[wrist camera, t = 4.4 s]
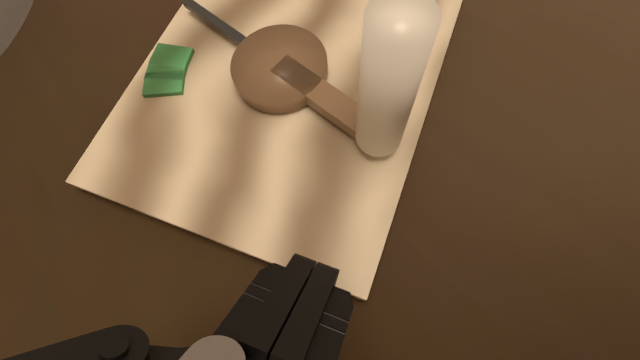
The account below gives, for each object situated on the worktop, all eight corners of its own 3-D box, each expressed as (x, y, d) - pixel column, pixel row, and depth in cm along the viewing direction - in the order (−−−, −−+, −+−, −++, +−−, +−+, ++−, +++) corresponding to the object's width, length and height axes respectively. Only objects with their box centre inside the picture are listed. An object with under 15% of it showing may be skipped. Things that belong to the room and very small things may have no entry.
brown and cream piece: (426, 117, 24) (485, -21, 14) (362, 192, 22) (377, 95, 12) (220, -17, 30) (158, -182, 20) (157, 34, 28) (55, -118, 18)
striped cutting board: (461, 0, 30) (469, -20, 28) (365, 301, 22) (367, 300, 20) (233, -50, 34) (227, -70, 32) (80, 188, 26) (60, 179, 24)
